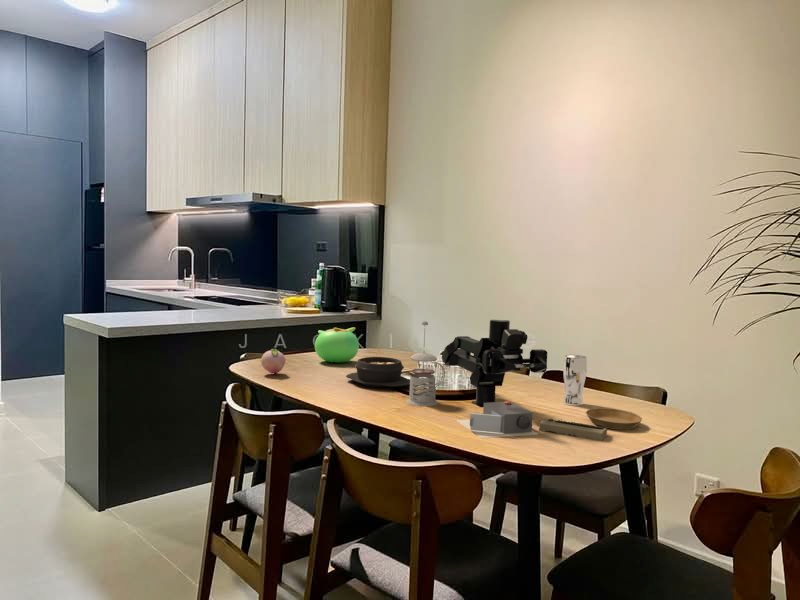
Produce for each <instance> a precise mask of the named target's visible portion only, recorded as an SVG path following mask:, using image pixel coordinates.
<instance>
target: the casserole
mask: <svg viewBox="0 0 800 600" xmlns="http://www.w3.org/2000/svg"><path fill="white" fill-rule="evenodd" d="M402 363H403V362H402V361H401V360H400V359H399V358H398V359H397V358H393V357H387V356H369V357H368V356H367V357H362V358H359V359H358V360H357V362H356V364H355V365H354V368H355V369H356V372H352V373H351V372H350V373H348V374H347V375H345V378H347V379H350V380H353V381H354V382H356V383H359V384H361V385H364V386H366V387H370V388H389V387H395V388H397V387H404V385H405V386H408V385H409V386H410V378H406V377H404V376H402V371H403V370H404V365H403V364H402Z"/></svg>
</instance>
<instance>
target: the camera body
mask: <svg viewBox="0 0 800 600" xmlns="http://www.w3.org/2000/svg"><path fill="white" fill-rule="evenodd" d="M482 408H483V410H482V411H483V413H482V414H488V415H500V416H504V424H503V434H509V433H524V432H532V430H533V412H532V411H530V410H527V409H526V408H524V407H522V406H520V405H518V404H515V403H513V401H509V400H506V401H505V400H504V401H495V402H490V403H484V407H482Z"/></svg>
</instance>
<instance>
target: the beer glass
mask: <svg viewBox="0 0 800 600" xmlns="http://www.w3.org/2000/svg"><path fill="white" fill-rule="evenodd" d="M587 361H588V359H587V356H584V355H580V354H565V355H564V362H563V374H562V375H563V382H564V395H563V400H562V403H563V404H565V405H566V406H567V405H568V406H572V407H573V406H574V407H580V406H584V400H583V399H584V398H583V396H584V395H583V392H584V387H585V383H586V377H587V370H588V367H587V366H588V363H587Z"/></svg>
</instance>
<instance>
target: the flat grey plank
mask: <svg viewBox="0 0 800 600" xmlns="http://www.w3.org/2000/svg"><path fill="white" fill-rule="evenodd" d="M538 430H539V432H544V433H546V432H550V433H556V435H561V436H570V437H575V438H582V439H587V440H593V441H600V442H603V440H604V439H606V437H607V433H608V428H606V427H602V426H599V425H597V426H596V425H593V424H585V423H580V422H575V421H574V422H573V421H565V420H560V419H558V420H556V419H555V420H554V419H553V418H546V419H543V420H541V421H540V423H539V429H538Z"/></svg>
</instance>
